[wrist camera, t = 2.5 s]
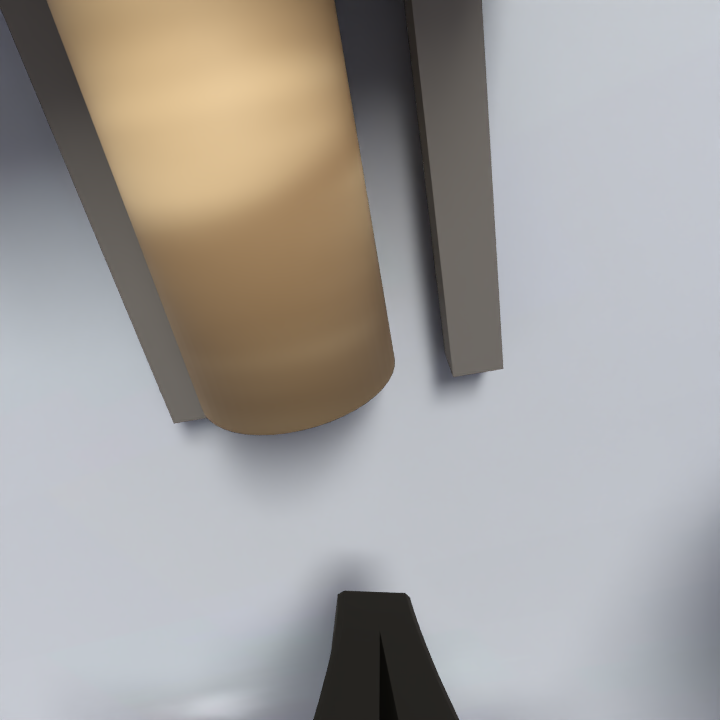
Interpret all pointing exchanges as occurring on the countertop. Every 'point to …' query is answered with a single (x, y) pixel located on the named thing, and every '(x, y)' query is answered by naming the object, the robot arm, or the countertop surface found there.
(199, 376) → the oak dowel
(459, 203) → the guide rails
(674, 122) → the countertop surface
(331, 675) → the robot arm
